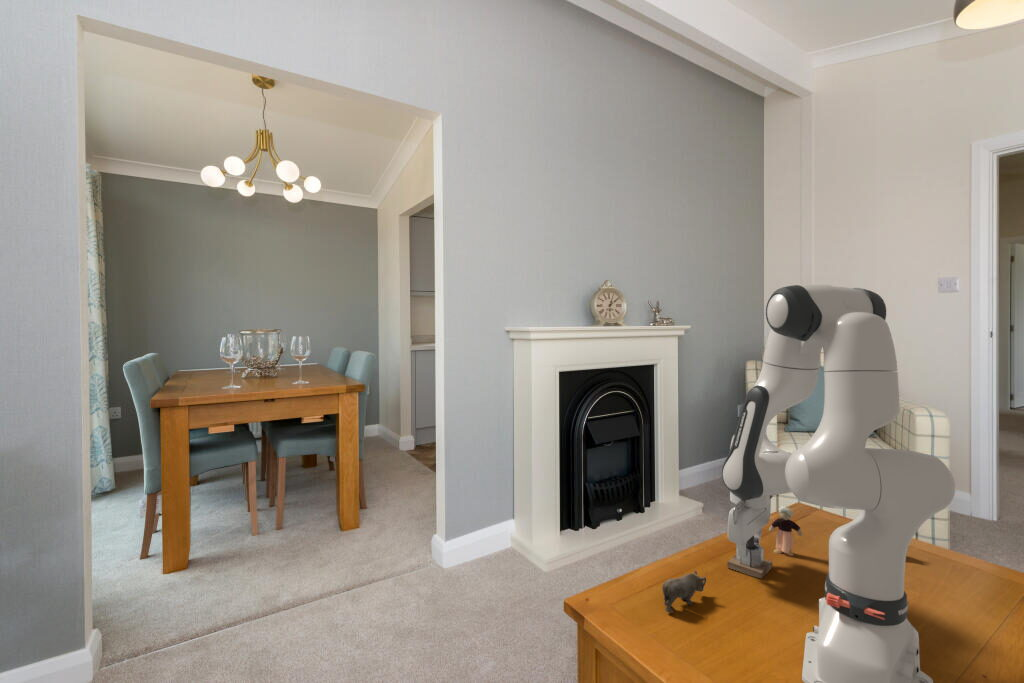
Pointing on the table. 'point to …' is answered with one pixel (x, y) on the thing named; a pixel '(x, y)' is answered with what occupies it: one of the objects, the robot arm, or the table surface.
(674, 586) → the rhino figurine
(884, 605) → the robot arm
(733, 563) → the post block
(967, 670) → the table surface
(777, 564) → the table surface
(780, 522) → the grandmother figurine
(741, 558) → the steel ring
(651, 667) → the table surface
